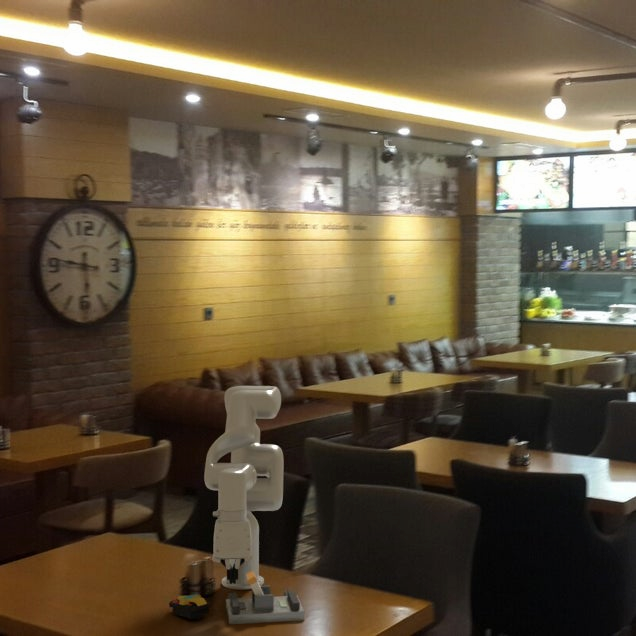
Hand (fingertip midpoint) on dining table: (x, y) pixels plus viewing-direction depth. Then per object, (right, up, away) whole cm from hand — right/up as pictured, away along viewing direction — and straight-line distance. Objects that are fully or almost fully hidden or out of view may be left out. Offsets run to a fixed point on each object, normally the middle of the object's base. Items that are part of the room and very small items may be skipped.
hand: (232, 582), depth 258 cm
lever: (+8, -6, +1) cm, 10 cm away
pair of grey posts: (+8, -9, +6) cm, 13 cm away
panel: (+9, -9, +2) cm, 13 cm away
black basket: (-12, -9, 0) cm, 15 cm away
